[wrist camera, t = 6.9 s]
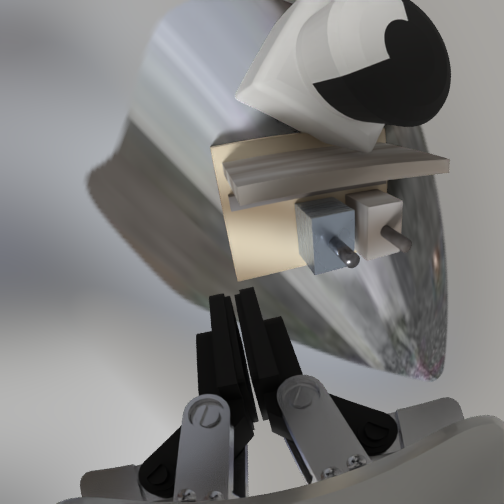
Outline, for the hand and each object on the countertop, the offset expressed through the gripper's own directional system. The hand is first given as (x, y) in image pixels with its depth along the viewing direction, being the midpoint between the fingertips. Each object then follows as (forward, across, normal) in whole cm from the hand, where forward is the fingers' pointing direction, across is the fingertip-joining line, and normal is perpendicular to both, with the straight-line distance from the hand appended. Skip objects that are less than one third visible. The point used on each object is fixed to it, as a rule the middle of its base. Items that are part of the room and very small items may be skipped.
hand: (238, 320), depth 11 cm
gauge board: (+11, -7, 0) cm, 13 cm away
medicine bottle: (+12, -7, -9) cm, 17 cm away
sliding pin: (+10, -7, +2) cm, 12 cm away
